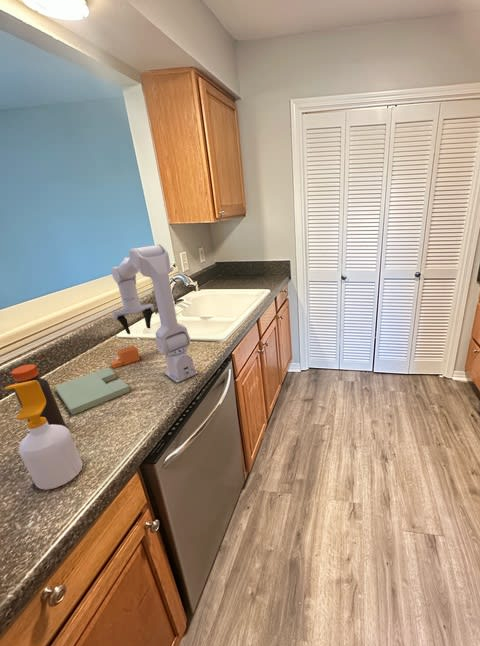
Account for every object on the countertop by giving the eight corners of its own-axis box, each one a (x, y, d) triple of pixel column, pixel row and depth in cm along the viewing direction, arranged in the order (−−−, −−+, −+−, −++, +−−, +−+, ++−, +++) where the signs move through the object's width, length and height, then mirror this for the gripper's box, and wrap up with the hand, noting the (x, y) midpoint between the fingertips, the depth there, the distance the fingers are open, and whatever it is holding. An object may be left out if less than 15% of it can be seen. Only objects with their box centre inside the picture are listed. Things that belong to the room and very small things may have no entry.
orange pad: (140, 359, 127) (137, 348, 125) (114, 368, 120) (110, 356, 118) (136, 356, 129) (133, 345, 127) (110, 365, 123) (107, 353, 121)
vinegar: (49, 425, 91) (21, 362, 83) (72, 424, 91) (47, 361, 83) (30, 442, 85) (-2, 376, 77) (55, 441, 84) (25, 375, 76)
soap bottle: (30, 496, 69) (-21, 400, 59) (42, 467, 76) (-1, 377, 67) (79, 481, 72) (38, 387, 62) (86, 454, 79) (50, 367, 70)
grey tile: (130, 391, 105) (128, 385, 105) (72, 415, 95) (70, 409, 94) (109, 371, 118) (108, 367, 118) (56, 391, 108) (54, 385, 107)
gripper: (145, 291, 130) (153, 323, 135) (106, 300, 121) (116, 333, 126) (152, 294, 125) (160, 327, 130) (111, 303, 116) (121, 338, 121)
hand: (138, 330), depth 128 cm, fingers open, 7 cm apart
